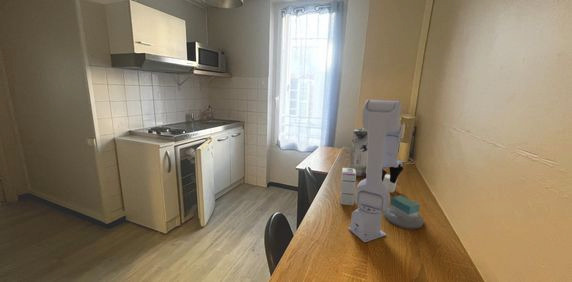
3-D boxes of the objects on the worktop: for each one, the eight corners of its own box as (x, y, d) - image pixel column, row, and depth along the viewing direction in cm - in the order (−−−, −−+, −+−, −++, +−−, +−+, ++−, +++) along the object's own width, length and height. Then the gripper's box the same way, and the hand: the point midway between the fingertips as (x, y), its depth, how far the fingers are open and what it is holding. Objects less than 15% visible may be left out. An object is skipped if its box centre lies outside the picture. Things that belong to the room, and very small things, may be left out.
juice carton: (348, 175, 127) (352, 128, 121) (349, 169, 137) (353, 125, 131) (365, 177, 125) (370, 129, 119) (364, 171, 135) (369, 126, 129)
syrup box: (354, 205, 94) (357, 172, 91) (339, 204, 95) (342, 171, 92) (353, 199, 100) (356, 168, 96) (339, 198, 101) (341, 167, 97)
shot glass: (387, 193, 106) (388, 179, 104) (377, 187, 112) (379, 174, 111) (399, 192, 108) (401, 178, 106) (389, 186, 114) (390, 173, 113)
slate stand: (406, 232, 77) (406, 228, 76) (376, 214, 88) (377, 210, 88) (431, 224, 82) (431, 220, 82) (400, 207, 93) (400, 204, 93)
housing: (389, 211, 87) (391, 197, 86) (398, 208, 89) (400, 195, 88) (407, 222, 80) (410, 207, 79) (417, 219, 82) (419, 204, 81)
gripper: (385, 156, 84) (381, 190, 87) (411, 152, 90) (406, 184, 93) (370, 152, 90) (367, 183, 93) (396, 148, 96) (392, 178, 99)
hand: (386, 183), depth 94 cm, fingers open, 7 cm apart
